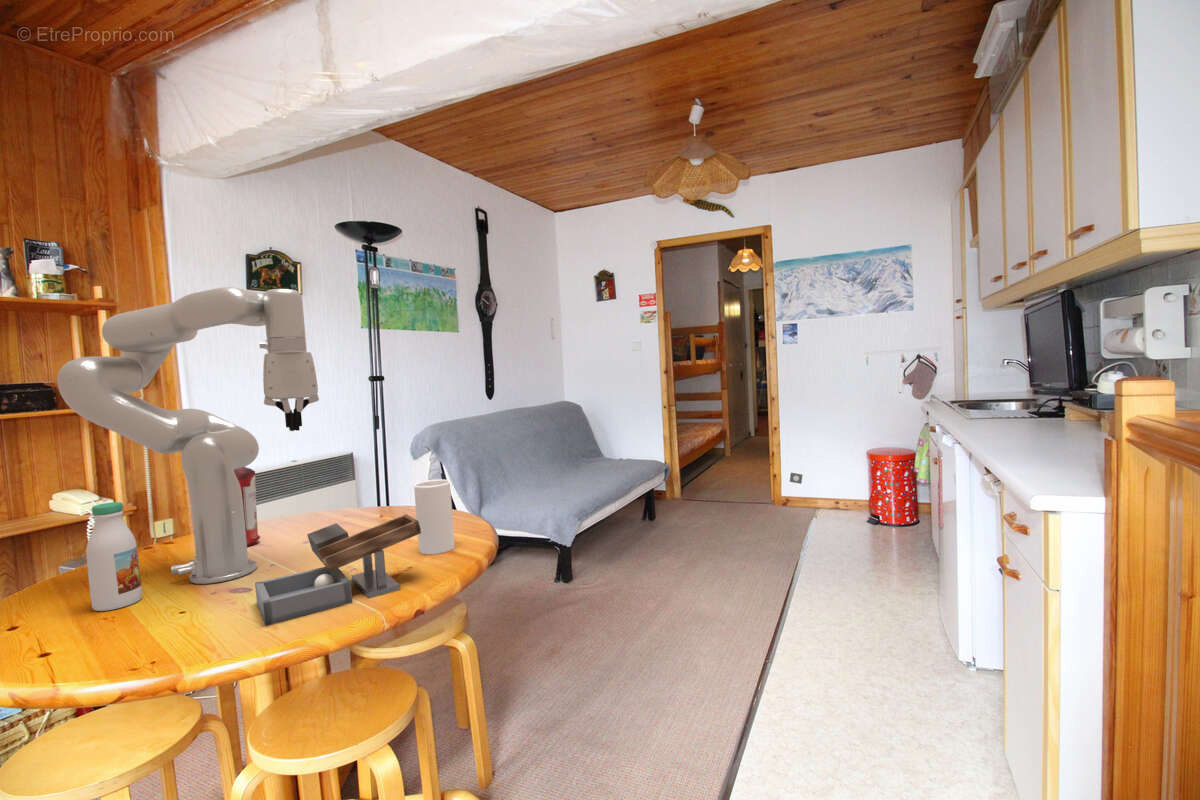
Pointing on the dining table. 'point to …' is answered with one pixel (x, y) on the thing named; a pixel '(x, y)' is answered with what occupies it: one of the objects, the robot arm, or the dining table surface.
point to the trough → (359, 541)
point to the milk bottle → (112, 560)
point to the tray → (300, 595)
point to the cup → (434, 516)
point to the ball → (323, 580)
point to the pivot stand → (375, 577)
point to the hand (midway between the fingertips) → (294, 430)
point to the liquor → (249, 503)
